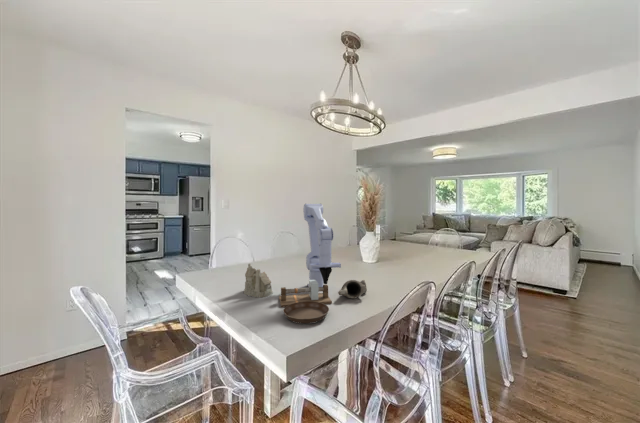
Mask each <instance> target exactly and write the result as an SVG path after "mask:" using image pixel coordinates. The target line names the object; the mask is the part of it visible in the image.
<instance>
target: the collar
mask: <svg viewBox="0 0 640 423" xmlns="http://www.w3.org/2000/svg"><path fill="white" fill-rule="evenodd" d="M308 284H309V287H308V288H310V287H311V292H308V294H309V296H310V298H311V300H318V293H319V292H318V283H317V281H316V280H309V279H308Z"/></svg>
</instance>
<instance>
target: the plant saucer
mask: <svg viewBox="0 0 640 423" xmlns="http://www.w3.org/2000/svg"><path fill="white" fill-rule="evenodd" d="M329 311H330V308H329V306H328V304H323V303H319V302H313V301H303V302H297V303H293V304H290V305H288V306H286V307H283V311H282V312H283V314H284V316H285V317H286V318H287V319H288V321H290V322H293V323H296V324H302V325H303V324H306V325H307V324H316V323H318V322H321V321H323V319H324V318H326V317H327V315H328V314H329Z"/></svg>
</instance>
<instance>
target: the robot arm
mask: <svg viewBox="0 0 640 423" xmlns="http://www.w3.org/2000/svg"><path fill="white" fill-rule="evenodd" d="M323 213H324V205H323V204H322V203H305V204H303V219H304V220H305V221H306V222H307V226H308V233H309V234H308V235H309V244H310V252H309V253H307V254H306V258H305V261H306V262H305V264H306V268H307V269H306V270H308V272H309V273H308V281H309V280H316V281H317V283H318V287H323V285H328V282H329V278H330V276H331V273H332V270H333V269H335V268H338V269H339V268H340V269H341V268H342V263H341V262H332V241H333V240H334V231H333V228H332V227H330V226H329V225H328V222H327V220H326V219H325V218H324V217H323ZM332 268H333V269H332ZM307 286H308V287H307V288H309V283H307Z"/></svg>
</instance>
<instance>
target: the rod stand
mask: <svg viewBox="0 0 640 423" xmlns="http://www.w3.org/2000/svg"><path fill="white" fill-rule="evenodd" d="M309 292H311V287H310V288H309V287H294V288H287V287H280V295H279V296H278V298H279V304H280V308H285V307H286V306H288V305H290V304H293V303H297V302H303V301H313V302H319V303H323V304H325V305H331V304H333V300H332V299H331V298H330V296H329V285H328V284H323V287H318V300H311V298H310V296H309ZM300 293H303V294H300ZM288 294H289V295H288Z"/></svg>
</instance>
